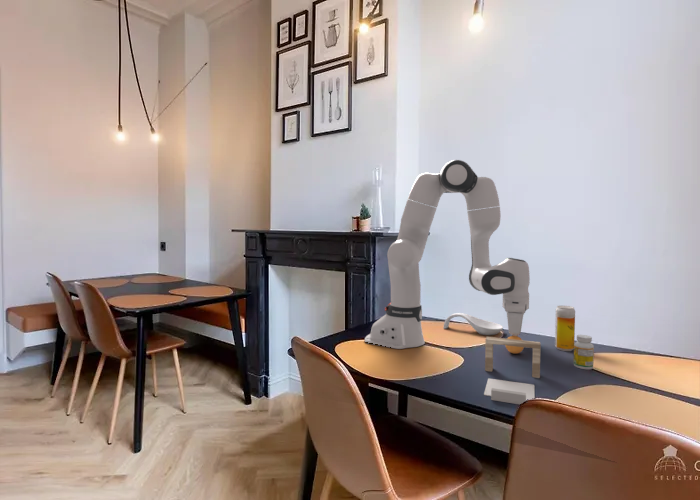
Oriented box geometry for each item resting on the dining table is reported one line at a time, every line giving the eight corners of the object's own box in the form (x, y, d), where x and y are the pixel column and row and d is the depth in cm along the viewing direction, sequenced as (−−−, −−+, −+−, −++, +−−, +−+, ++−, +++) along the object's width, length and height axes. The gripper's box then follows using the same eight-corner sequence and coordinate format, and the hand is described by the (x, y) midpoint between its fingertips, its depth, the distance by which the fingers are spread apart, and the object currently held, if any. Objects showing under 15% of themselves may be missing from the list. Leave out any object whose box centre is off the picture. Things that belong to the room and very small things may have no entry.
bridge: (539, 378, 117) (540, 344, 116) (485, 370, 123) (485, 339, 122) (539, 374, 119) (540, 342, 119) (486, 367, 125) (486, 336, 125)
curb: (491, 399, 102) (491, 390, 102) (491, 397, 104) (491, 388, 103) (525, 405, 99) (525, 395, 99) (525, 402, 100) (526, 393, 100)
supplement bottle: (591, 371, 122) (592, 339, 121) (571, 367, 125) (572, 336, 125) (594, 366, 126) (595, 335, 125) (575, 362, 129) (576, 333, 129)
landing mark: (483, 395, 105) (483, 394, 105) (488, 379, 116) (488, 378, 116) (534, 403, 100) (534, 402, 100) (534, 385, 111) (534, 384, 111)
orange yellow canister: (576, 352, 140) (577, 309, 139) (557, 351, 141) (558, 308, 140) (570, 346, 146) (572, 305, 145) (552, 345, 147) (553, 305, 146)
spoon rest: (505, 332, 167) (505, 315, 167) (500, 339, 157) (500, 321, 157) (448, 325, 179) (448, 309, 179) (440, 331, 169) (440, 314, 168)
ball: (504, 354, 138) (504, 337, 137) (505, 349, 143) (505, 332, 143) (523, 356, 135) (524, 339, 135) (524, 351, 141) (524, 334, 140)
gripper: (507, 297, 157) (506, 332, 158) (505, 307, 138) (504, 347, 139) (525, 298, 154) (524, 334, 155) (525, 309, 135) (524, 349, 136)
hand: (514, 340), depth 147 cm, fingers closed
